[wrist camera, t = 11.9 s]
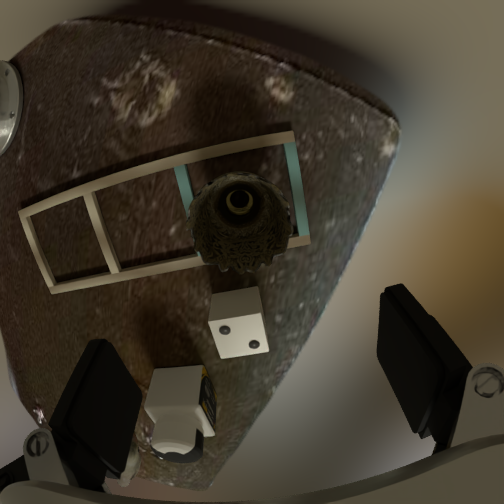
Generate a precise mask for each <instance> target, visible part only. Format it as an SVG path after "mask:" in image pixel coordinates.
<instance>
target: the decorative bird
mask: <svg viewBox="0 0 504 504" xmlns="http://www.w3.org/2000/svg"><path fill="white" fill-rule="evenodd" d="M140 464H141V456H140V454H139V448H138V441H137V438H136V435H135V434H133V438H132V442H131V446H130V451H129V455H128V459H127V464H126V468H125V471H124V472H123V473H121V478H120V480H119V479H117V483H118V484H120V486H122V487H125V486H128V484H129V482H130V480H131V479H133V478H134V477H135V476H136V474H137V472H138V470H139V468H140ZM132 476H133V477H132ZM131 477H132V478H131ZM130 478H131V479H130Z"/></svg>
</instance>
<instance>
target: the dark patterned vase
mask: <svg viewBox="0 0 504 504" xmlns="http://www.w3.org/2000/svg"><path fill="white" fill-rule="evenodd" d="M236 191H243V192H245V193H246V194H247V196H248V203H247V204H246V206H244V207H242V208H237V207H235V206H234V205H233V204H232V203H231V196H232V194H233V193H234V192H236ZM289 207H290V205H289V203H288V201H287V199H286V198H285V197H284V195H283V194H282V192H281V191H280V190H279V188H278V187H277V186H276V185H274V184H273V183H271V182H270V181H268V180H266V179H264V178H263V177H261V176H259V175H256V174H254V173H250V172H245V171H235V172H229V173H226V174H223V175H221V176H219V177H217V178H215V179H213V180H212V181H211V182H209V183H207V184H206V185H204V186H203V187H202V188H201V189H200V191H199V193H198V194H197V195H196V196H195V197H194V199H193V200H192V202H191V204H190V206H189V209H188V219H187V221H186V229H187V230H188V229H189V230H191V237H192V238H193V240H194V250H195V252H199V253H200V256H201V259H202V261H203V263H205V264H207V265H213V264H216V265H218V266H219V269H220V271H221V272H225V271H227V270H228V268H229V267H231V268H232V270H233V271H236V272H237V273H238V274H243V273H244V272H245V271H248V272H251V273H254V272H256V271H257V270H258V269H259V267H260V265H261V263H264V264H265V266H267V267H269V266H270V265H271V264H272V259H273V257H275V256H280V255H282V254H284V253H285V252H286V250H287V247H288V242H289V236H292V234H293V225H292V224H291V222H290V212H289Z"/></svg>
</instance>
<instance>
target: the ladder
mask: <svg viewBox="0 0 504 504" xmlns="http://www.w3.org/2000/svg"><path fill="white" fill-rule="evenodd" d="M277 144H283V147H284V152H285V158H286V163H287V169H288V175H289V181H290V187H291V193H292V199H293V205H294V211H295V218H296V224H297V231H298V234H293V235H292V236H289V242H288V247H287V248H292V247H297V246H302V245H307V244H311V243H310V235H309V228H308V220H307V213H306V206H305V199H304V193H303V186H302V180H301V174H300V167H299V161H298V156H297V150H296V144H295V139H294V133H293V131H286V132H279V133H274V134H268V135H262V136H257V137H252V138H247V139H242V140H237V141H232V142H227V143H223V144H218V145H214V146H209V147H205V148H201V149H197V150H193V151H189V152H185V153H181V154H177V155H174V156H170V157H166V158H163V159H159V160H156V161H152V162H149V163H145V164H142V165H139V166H136V167H132V168H129V169H126V170H123V171H120V172H117V173H114V174H111V175H108V176H105V177H102V178H99V179H96V180H94V181H91V182H88V183H85V184H83V185H80V186H77V187H75V188H72V189H69V190H67V191H64V192H62V193H59V194H57V195H54V196H52V197H49V198H47V199H45V200H42V201H40V202H38V203H35V204H33V205H31V206H29V207H26V208H24V209H22V210H20V211H18V213H19V216H20V219H21V222H22V225H23V228H24V230H25V233H26V236H27V238H28V241H29V244H30V246H31V249H32V251H33V254H34V256H35V258H36V261H37V263H38V265H39V268H40V270H41V272H42V275H43V277H44V279H45V281H46V283H47V285H48V287H49V289H50V292H51V294H55V293H61V292H66V291H71V290H76V289H82V288H87V287H92V286H97V285H102V284H108V283H113V282H118V281H123V280H128V279H134V278H139V277H144V276H149V275H154V274H159V273H165V272H170V271H175V270H180V269H185V268H190V267H195V266H200V265H206V264H205V263H203V261H202V259H201V256H200V253H199V252H197V254H192V255H187V256H183V257H178V258H173V259H168V260H163V261H158V262H153V263H149V264H144V265H139V266H134V267H129V268H125V269H121V266H120V264H119V261H118V258H117V256H116V253H115V250H114V248H113V245H112V242H111V240H110V237H109V234H108V231H107V228H106V225H105V222H104V219H103V217H102V213H101V210H100V207H99V204H98V201H97V198H96V195H95V191H96V190H99V189H102V188H105V187H108V186H111V185H114V184H117V183H120V182H124V181H127V180H130V179H133V178H137V177H140V176H144V175H147V174H150V173H154V172H158V171H161V170H165V169H168V168H172V167H174V170H175V174H176V177H177V181H178V185H179V189H180V193H181V197H182V200H183V204H184V208H185V211H186V215H187V219H188V209H189V206H190V204H191V202H192V200H193V199H194V194H193V190H192V186H191V182H190V178H189V174H188V170H187V166H186V164H188V163H192V162H196V161H200V160H204V159H208V158H213V157H217V156H222V155H226V154H231V153H235V152H240V151H245V150H250V149H255V148H261V147H266V146H272V145H277ZM82 195H83V196H84V200H85V203H86V206H87V209H88V212H89V215H90V218H91V221H92V224H93V227H94V230H95V232H96V235H97V238H98V241H99V243H100V246H101V249H102V251H103V254H104V256H105V259H106V262H107V264H108V266H109V269H110V272H105V273H101V274H96V275H91V276H87V277H82V278H77V279H73V280H68V281H63V282H59V283H57V282H56V280H55V278H54V276H53V274H52V271H51V269H50V267H49V265H48V262H47V260H46V257H45V255H44V253H43V250H42V248H41V245H40V243H39V240H38V237H37V235H36V232H35V229H34V226H33V224H32V221H31V218H30V215H33V214H35V213H37V212H40V211H42V210H45V209H47V208H50V207H52V206H55V205H57V204H60V203H63V202H65V201H68V200H71V199H73V198H76V197H79V196H82Z"/></svg>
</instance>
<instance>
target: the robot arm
mask: <svg viewBox="0 0 504 504" xmlns="http://www.w3.org/2000/svg"><path fill="white" fill-rule="evenodd" d="M22 107H23V86H22V81H21V77H20V74H19V72H18V70H17V69H16V67H15V66H14V65H13V64H11V63H10V62H7V61H0V156H1V155H2V154H3V153H4V152H5V151H6V149H7V148H8V147H9V145H10V144H11V142H12V140H13V138H14V136H15V133H16V131H17V128H18V125H19V122H20V118H21V113H22ZM377 357H378V360H379V363H380V364H381V366H382V368H383V370H384V372H385V374H386V376H387V378H388V380H389V383H390V385H391V387H392V389H393V391H394V393H395V395H396V397H397V399H398V401H399V403H400V405H401V408H402V410H403V412H404V414H405V416H406V418H407V421H408V423H409V425H410V427H411V429H412V431H413V432H414V433H418V434H419V436H420V438H421V439H423V438H426V437H428V436H430V435H432V437H433V439H434V441H436V444H435V447H434V450H433V453H432V455H431V456H429V457H426V458H424V459H421V460H419V461H416V462H414V463H411V464H409V465H406V466H403V467H401V468H398V469H395V470H392V471H389V472H386V473H383V474H380V475H377V476H374V477H370V478H367V479H364V480H360V481H357V482H353V483H349V484H345V485H342V486H337V487H334V488H329V489H324V490H320V491H315V492H310V493H304V494H299V495H292V496H285V497H278V498H270V499H261V500H250V501H235V502H175V501H160V500H150V499H141V498H133V497H125V496H119V495H112V494H111V492H110V490H109V489H108V486H107V485H106V483H105V481H104V480H105V476H106V477H108V478H113V479H119V480H120V478H121V473H123V472H124V471H125V468H126V464H127V459H128V455H129V451H130V446H131V442H132V438H133V434H134V430H135V426H136V422H137V418H138V414H139V410H140V406H141V402H142V392H141V390H140V388H139V387H138V385H137V384H136V382H135V381H134V379H133V378H132V376H131V374H130V373H129V371H128V370H127V368H126V366H125V365H124V363H123V362H122V360H121V358H120V357H119V355H118V353H117V352H116V350H115V348H114V346H113V345H112V343H110V342H108V341H107V340H106V339H94V340H90V341H89V343H88V345H87V346H86V348H85V350H84V352H83V354H82V356H81V358H80V360H79V361H78V363H77V365H76V367H75V369H74V371H73V373H72V375H71V377H70V379H69V381H68V383H67V385H66V387H65V389H64V391H63V393H62V395H61V397H60V400H59V402H58V404H57V406H56V408H55V410H54V412H53V415H52V417H51V419H50V421H49V424H48V425H49V426H50V427H51V428H52V431H51V432H50V431H49V430H47V429H44V428H39V429H36V430H34V431H32V432H31V433H30V434H29V435H28V437H27V438H26V439H25V441H24V445H23V452H24V455H23V456H21V457H19V458H18V459H16V460H14V461H13V462H11V463H9V464H8V465H6V466H4V467H3V468H1V469H0V504H504V370H503V369H502V368H501V367H499V366H498V365H495V364H492V363H482V364H479V365H477V366H475V367H472V366H471V364H470V363H469V361H468V360H467V359H466V357H465V356H464V355H463V353H462V352H461V351H460V349H459V348H458V347H457V346H456V344H455V343H454V342H453V341H452V339H451V338H450V337H449V335H448V334H447V333H446V332H445V330H444V329H443V328H442V327H441V325H440V324H439V323H438V322H437V320H436V319H435V318H434V317H433V316H432V315H429V314H428V313H427V312H426V311H425V309H424V308H423V307H422V306H421V304H420V303H419V302H418V301H417V300H416V299H415V297H414V296H413V295H412V294H411V293H410V292H409V291H408V289H407V288H406V287H405V286H404V285H403V284H397V285H393V286H389V287H386V288H385V290H384V293H381V295H380V311H379V327H378V341H377Z"/></svg>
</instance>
